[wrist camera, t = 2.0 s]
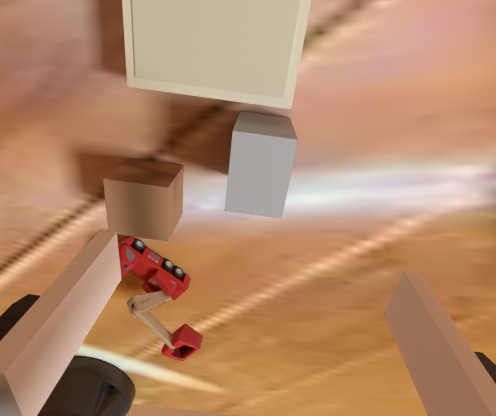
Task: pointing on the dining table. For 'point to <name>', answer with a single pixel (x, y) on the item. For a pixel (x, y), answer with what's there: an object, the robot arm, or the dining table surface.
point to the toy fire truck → (158, 295)
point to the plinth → (216, 48)
